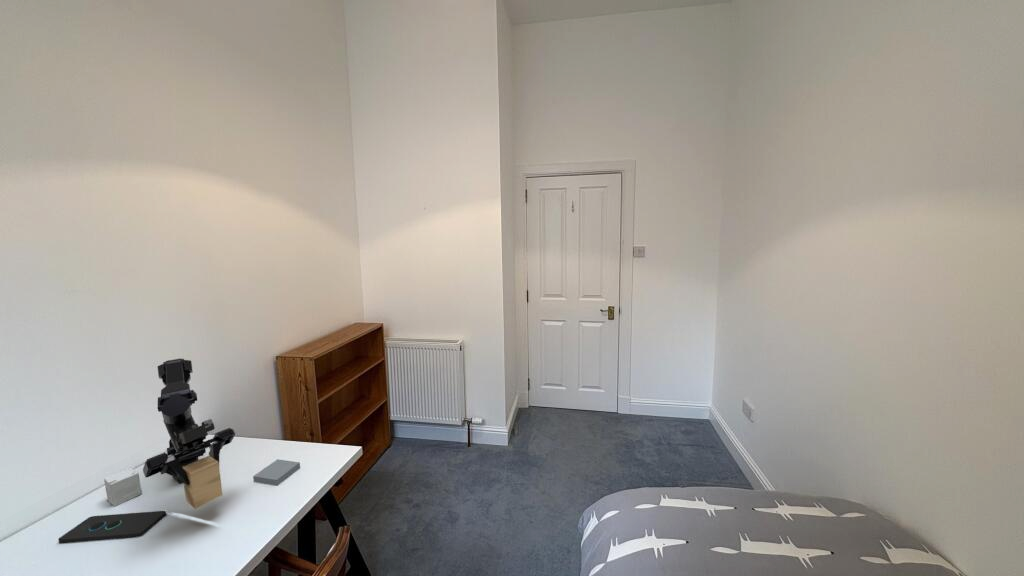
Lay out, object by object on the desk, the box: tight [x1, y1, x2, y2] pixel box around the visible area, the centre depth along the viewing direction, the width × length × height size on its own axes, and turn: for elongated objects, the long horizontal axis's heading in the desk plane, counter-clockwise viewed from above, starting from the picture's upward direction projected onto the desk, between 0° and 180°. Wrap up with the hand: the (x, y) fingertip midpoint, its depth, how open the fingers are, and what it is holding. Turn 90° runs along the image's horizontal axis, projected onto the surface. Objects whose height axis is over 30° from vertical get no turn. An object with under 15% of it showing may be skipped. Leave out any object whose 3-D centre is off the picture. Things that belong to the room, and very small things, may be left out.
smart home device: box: [58, 510, 167, 544], centre depth 95 cm, size 8×2×20 cm
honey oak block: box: [182, 455, 223, 510], centre depth 96 cm, size 6×6×10 cm
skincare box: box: [103, 467, 143, 507], centre depth 107 cm, size 6×6×7 cm
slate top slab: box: [252, 458, 301, 486], centre depth 115 cm, size 9×9×2 cm
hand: (203, 477), depth 95 cm, fingers closed on honey oak block, 6 cm apart
